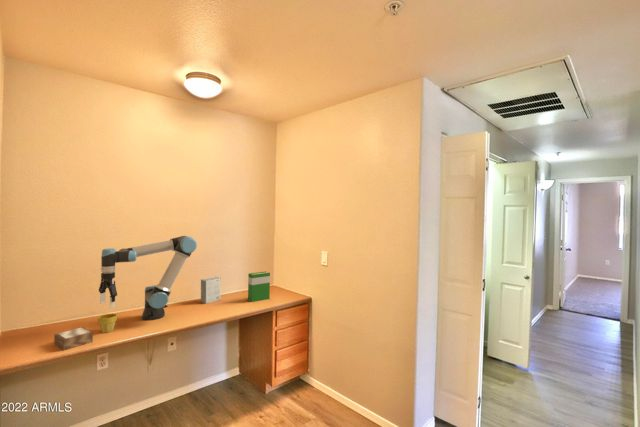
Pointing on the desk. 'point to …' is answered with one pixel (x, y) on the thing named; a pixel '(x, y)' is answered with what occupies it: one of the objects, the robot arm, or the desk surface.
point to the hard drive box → (210, 289)
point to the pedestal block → (73, 338)
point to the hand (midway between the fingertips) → (107, 304)
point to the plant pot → (107, 322)
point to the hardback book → (258, 286)
